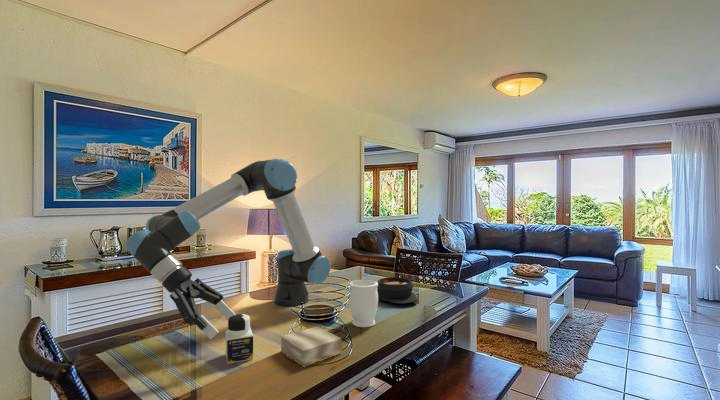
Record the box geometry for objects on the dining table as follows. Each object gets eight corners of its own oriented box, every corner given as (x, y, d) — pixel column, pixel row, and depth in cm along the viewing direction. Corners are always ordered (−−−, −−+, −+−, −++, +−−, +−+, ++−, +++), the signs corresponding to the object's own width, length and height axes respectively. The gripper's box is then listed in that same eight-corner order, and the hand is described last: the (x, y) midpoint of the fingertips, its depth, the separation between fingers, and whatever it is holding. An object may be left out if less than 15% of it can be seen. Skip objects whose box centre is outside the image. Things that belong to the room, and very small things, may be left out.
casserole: (364, 294, 169) (364, 276, 169) (398, 290, 177) (398, 273, 177) (389, 310, 146) (389, 289, 146) (427, 304, 154) (427, 285, 154)
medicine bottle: (227, 364, 100) (226, 321, 100) (225, 354, 106) (225, 314, 106) (253, 359, 103) (253, 318, 103) (250, 349, 109) (250, 310, 109)
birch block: (317, 341, 116) (317, 326, 116) (341, 355, 106) (341, 338, 106) (281, 352, 108) (281, 336, 108) (303, 369, 98) (303, 350, 98)
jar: (364, 316, 139) (364, 278, 138) (384, 323, 131) (384, 282, 131) (343, 323, 131) (343, 282, 131) (363, 331, 124) (363, 288, 123)
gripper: (184, 274, 116) (231, 320, 116) (136, 295, 91) (195, 354, 91) (200, 257, 116) (247, 304, 116) (156, 275, 91) (216, 333, 91)
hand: (224, 326), depth 104 cm, fingers open, 13 cm apart
